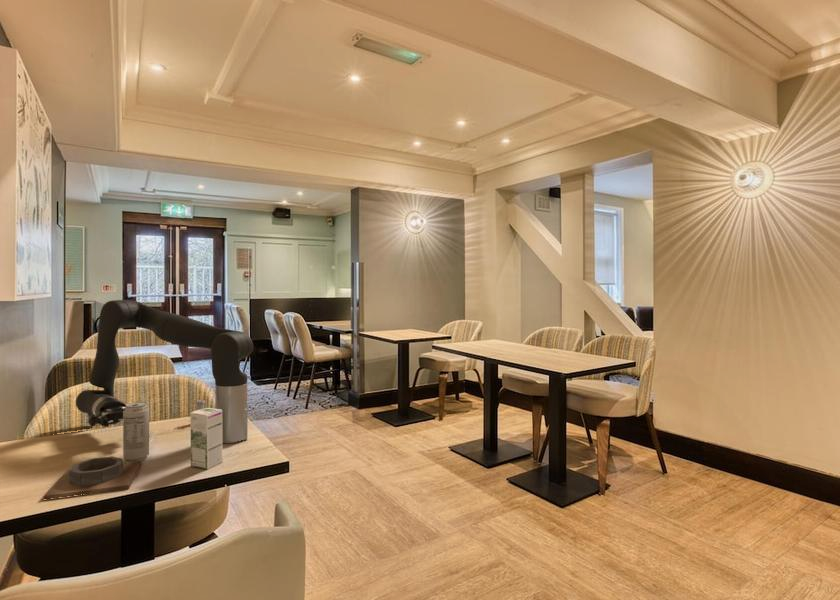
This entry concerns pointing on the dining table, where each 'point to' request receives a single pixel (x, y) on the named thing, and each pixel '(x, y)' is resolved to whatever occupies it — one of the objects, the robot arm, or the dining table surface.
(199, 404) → the rook chess piece
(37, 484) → the dining table surface
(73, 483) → the can holder
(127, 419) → the energy drink can
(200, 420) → the syrup box
